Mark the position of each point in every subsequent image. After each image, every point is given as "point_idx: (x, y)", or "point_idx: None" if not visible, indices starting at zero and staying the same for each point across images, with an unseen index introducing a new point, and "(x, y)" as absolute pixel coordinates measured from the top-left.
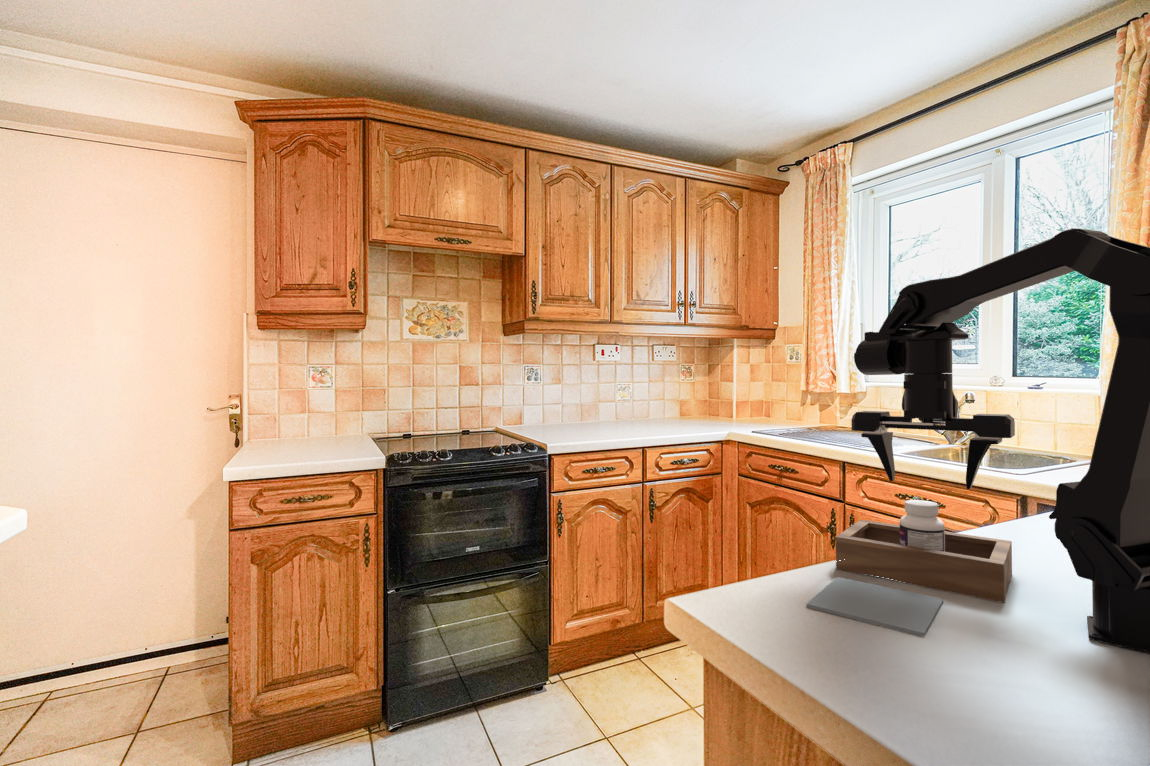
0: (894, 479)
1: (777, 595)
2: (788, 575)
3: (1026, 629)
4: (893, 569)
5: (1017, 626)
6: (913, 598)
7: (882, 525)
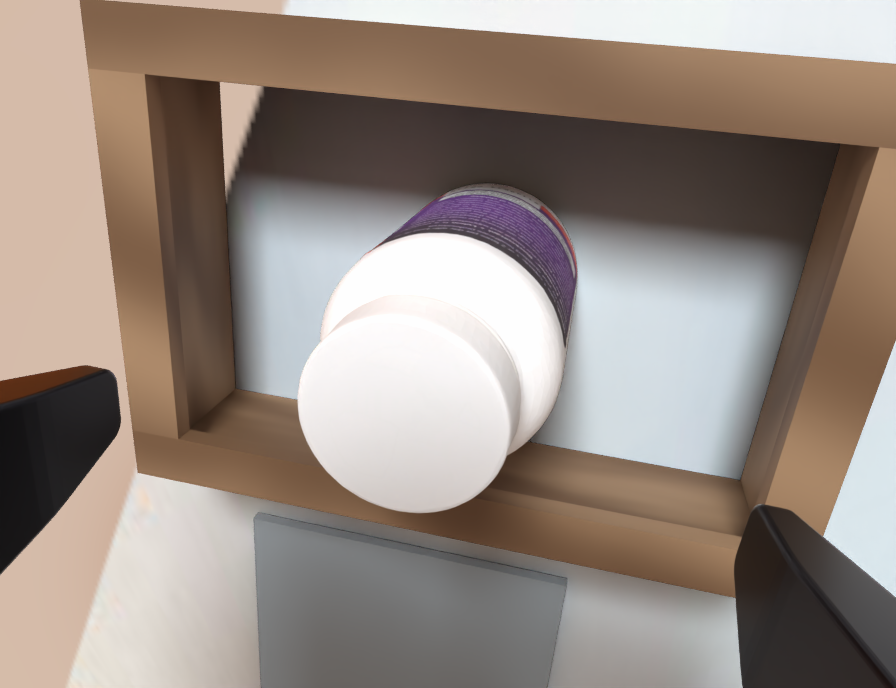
0: (108, 375)
1: (185, 680)
2: (134, 531)
3: None
4: None
5: None
6: (484, 614)
7: (221, 81)
